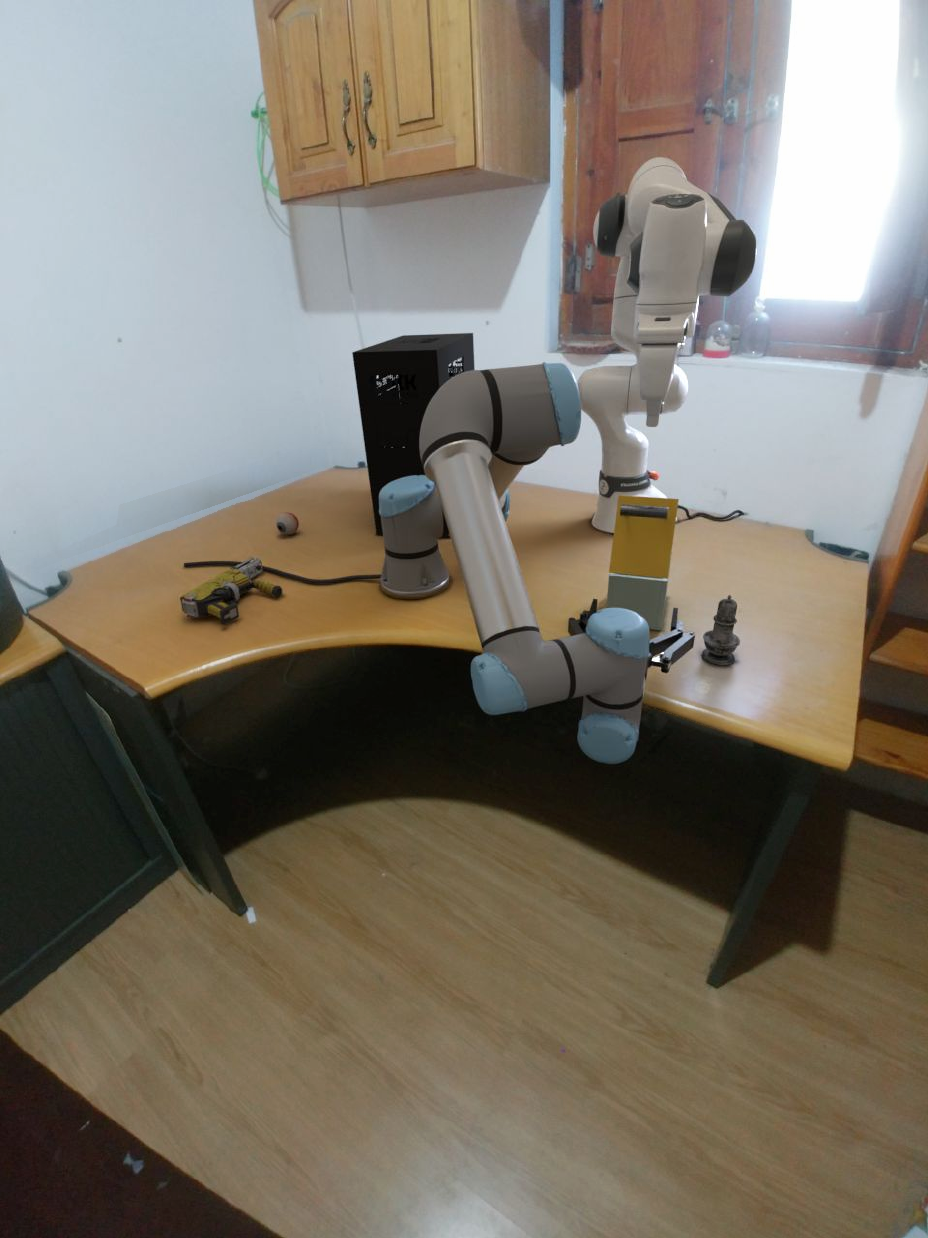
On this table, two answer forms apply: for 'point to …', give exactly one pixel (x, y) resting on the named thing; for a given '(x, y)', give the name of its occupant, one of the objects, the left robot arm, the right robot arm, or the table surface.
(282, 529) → the eyeball
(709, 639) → the dark grey chess piece
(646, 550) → the lid
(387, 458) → the black computer tower
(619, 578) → the chest
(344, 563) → the table surface
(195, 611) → the yellow angle grinder
